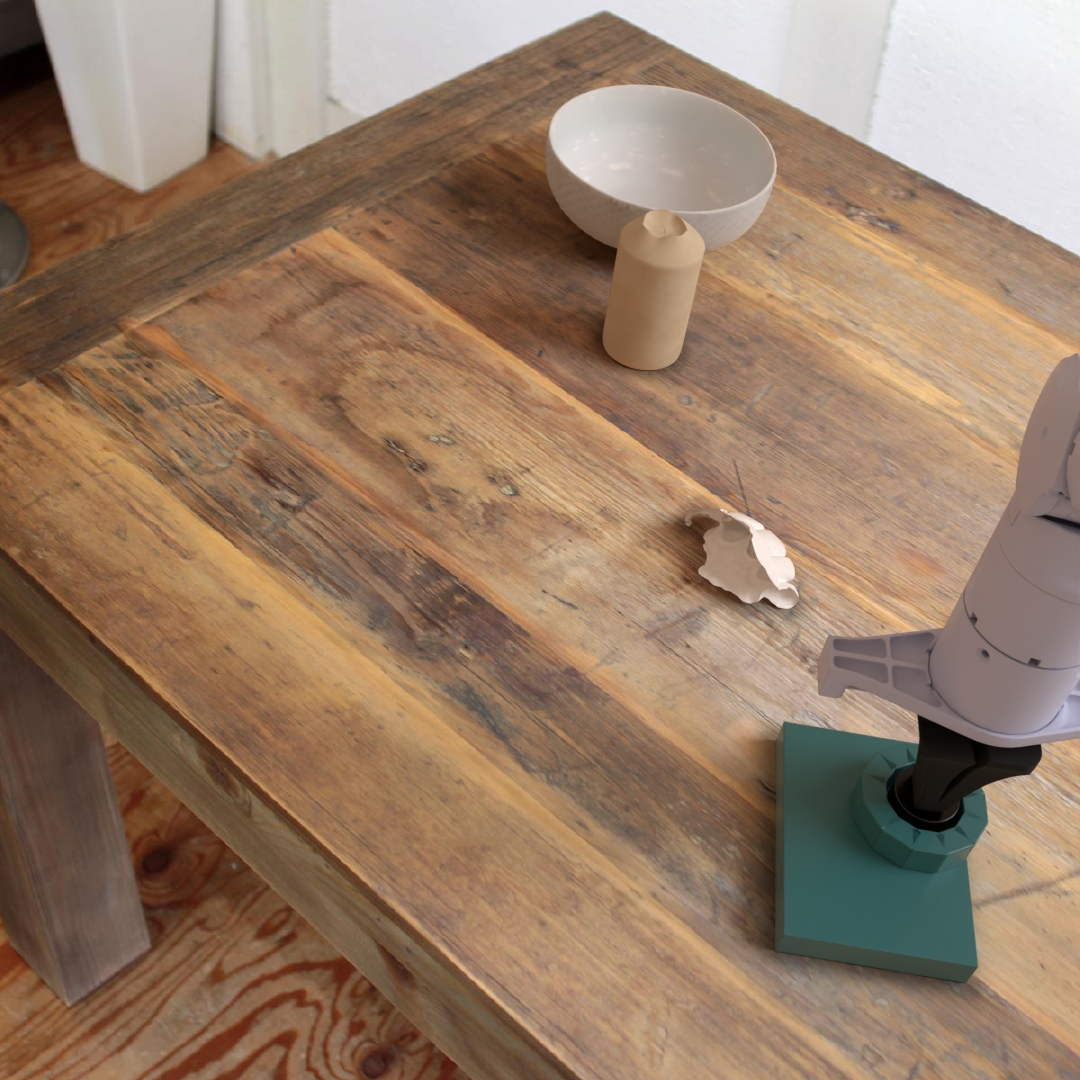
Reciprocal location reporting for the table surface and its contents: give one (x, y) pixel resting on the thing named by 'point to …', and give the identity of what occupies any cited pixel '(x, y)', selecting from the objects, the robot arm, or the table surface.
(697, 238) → the candle
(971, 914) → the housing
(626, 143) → the cereal bowl
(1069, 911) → the table surface
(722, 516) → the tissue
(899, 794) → the button
